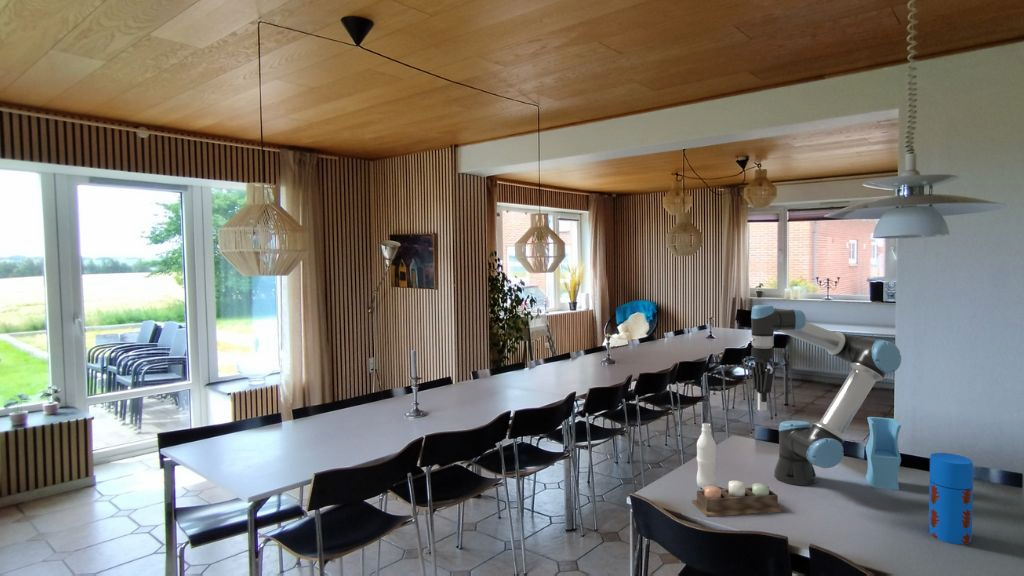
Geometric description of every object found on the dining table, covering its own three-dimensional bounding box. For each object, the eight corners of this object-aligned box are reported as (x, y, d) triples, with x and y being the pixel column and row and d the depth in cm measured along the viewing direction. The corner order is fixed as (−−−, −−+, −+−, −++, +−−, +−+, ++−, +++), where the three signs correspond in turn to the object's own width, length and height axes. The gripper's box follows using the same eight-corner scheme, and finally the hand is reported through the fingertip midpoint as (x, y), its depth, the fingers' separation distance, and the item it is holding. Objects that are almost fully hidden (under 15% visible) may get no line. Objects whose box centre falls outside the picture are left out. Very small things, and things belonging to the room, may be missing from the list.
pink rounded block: (716, 499, 207) (716, 485, 207) (723, 505, 202) (723, 491, 202) (701, 499, 207) (701, 486, 206) (708, 506, 201) (708, 492, 201)
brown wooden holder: (764, 497, 213) (764, 484, 212) (783, 511, 201) (783, 497, 200) (692, 502, 210) (692, 488, 209) (706, 516, 198) (706, 502, 198)
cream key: (740, 493, 208) (740, 480, 208) (748, 499, 203) (748, 485, 202) (725, 494, 207) (725, 480, 207) (733, 500, 202) (733, 486, 202)
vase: (870, 486, 221) (871, 422, 220) (865, 477, 231) (866, 416, 229) (900, 490, 218) (901, 425, 217) (894, 481, 227) (895, 418, 226)
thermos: (920, 529, 186) (921, 453, 185) (950, 527, 187) (952, 451, 186) (948, 545, 175) (949, 465, 174) (980, 543, 176) (982, 463, 175)
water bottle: (717, 492, 219) (717, 427, 217) (697, 490, 220) (697, 426, 219) (714, 484, 226) (714, 422, 224) (695, 483, 227) (695, 421, 226)
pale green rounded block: (763, 496, 209) (763, 482, 209) (772, 502, 204) (772, 488, 203) (749, 497, 208) (749, 483, 208) (757, 503, 203) (757, 489, 203)
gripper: (743, 344, 218) (743, 406, 219) (762, 349, 205) (762, 414, 206) (762, 344, 219) (762, 405, 220) (782, 349, 206) (781, 414, 207)
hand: (762, 409), depth 213 cm, fingers closed
